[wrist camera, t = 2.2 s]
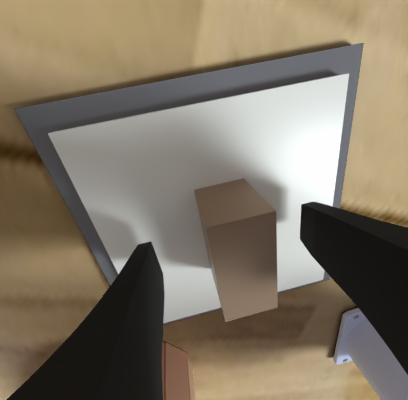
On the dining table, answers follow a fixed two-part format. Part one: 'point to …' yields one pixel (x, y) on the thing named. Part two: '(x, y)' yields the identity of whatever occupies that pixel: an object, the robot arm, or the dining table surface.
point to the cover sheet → (202, 154)
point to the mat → (174, 97)
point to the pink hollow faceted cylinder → (176, 374)
